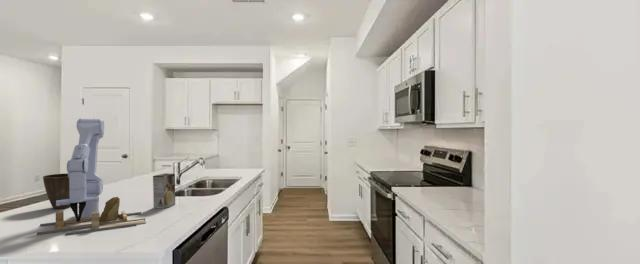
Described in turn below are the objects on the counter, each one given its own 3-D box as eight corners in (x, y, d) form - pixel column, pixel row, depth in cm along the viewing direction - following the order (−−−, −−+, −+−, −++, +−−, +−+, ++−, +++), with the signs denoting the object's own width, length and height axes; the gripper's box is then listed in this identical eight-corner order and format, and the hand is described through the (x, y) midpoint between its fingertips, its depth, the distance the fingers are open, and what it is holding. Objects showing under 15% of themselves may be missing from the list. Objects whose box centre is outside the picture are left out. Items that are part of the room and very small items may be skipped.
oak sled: (56, 224, 148) (55, 209, 148) (124, 216, 162) (124, 202, 162) (54, 231, 139) (53, 215, 139) (127, 222, 153) (127, 207, 152)
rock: (104, 219, 146) (127, 211, 154) (94, 202, 148) (118, 195, 156) (94, 232, 151) (117, 223, 160) (85, 215, 153) (108, 207, 161)
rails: (40, 225, 146) (40, 224, 146) (140, 213, 167) (140, 211, 167) (34, 239, 130) (34, 237, 130) (147, 223, 150) (147, 222, 150)
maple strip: (91, 227, 144) (91, 211, 144) (144, 220, 155) (144, 205, 155) (92, 230, 141) (91, 214, 140) (145, 223, 151) (145, 207, 151)
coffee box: (164, 203, 187) (164, 173, 187) (175, 204, 186) (175, 173, 185) (152, 207, 178) (152, 175, 178) (164, 208, 177) (164, 176, 176)
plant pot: (38, 208, 176) (37, 175, 176) (72, 202, 189) (72, 172, 188) (50, 212, 168) (49, 178, 167) (85, 206, 180) (85, 174, 180)
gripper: (55, 191, 140) (55, 226, 140) (99, 187, 148) (99, 220, 148) (56, 188, 146) (57, 221, 146) (98, 185, 154) (98, 216, 154)
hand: (78, 221), depth 148 cm, fingers closed
